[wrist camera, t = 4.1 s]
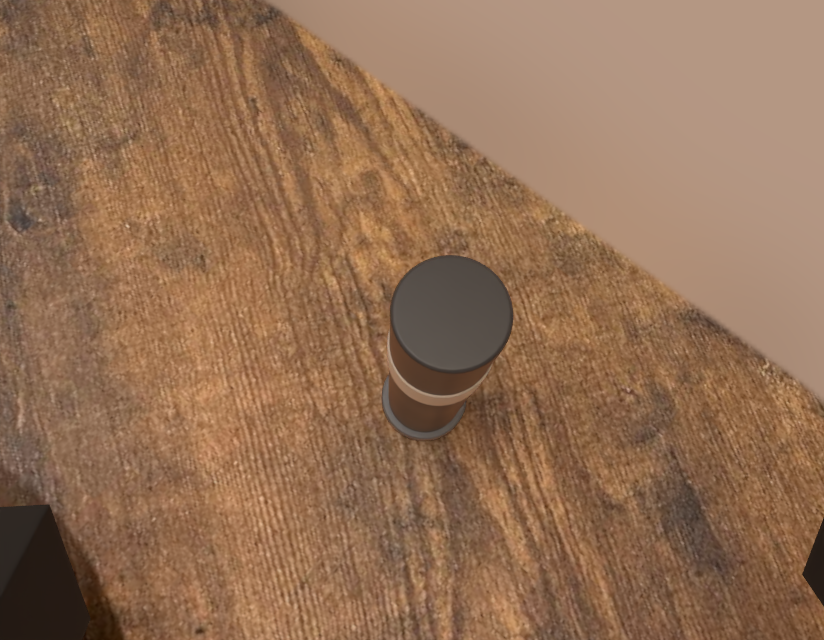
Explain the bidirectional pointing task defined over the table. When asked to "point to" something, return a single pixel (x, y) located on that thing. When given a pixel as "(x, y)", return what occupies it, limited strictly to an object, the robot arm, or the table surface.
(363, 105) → the table surface
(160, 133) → the table surface
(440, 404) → the pepper grinder
